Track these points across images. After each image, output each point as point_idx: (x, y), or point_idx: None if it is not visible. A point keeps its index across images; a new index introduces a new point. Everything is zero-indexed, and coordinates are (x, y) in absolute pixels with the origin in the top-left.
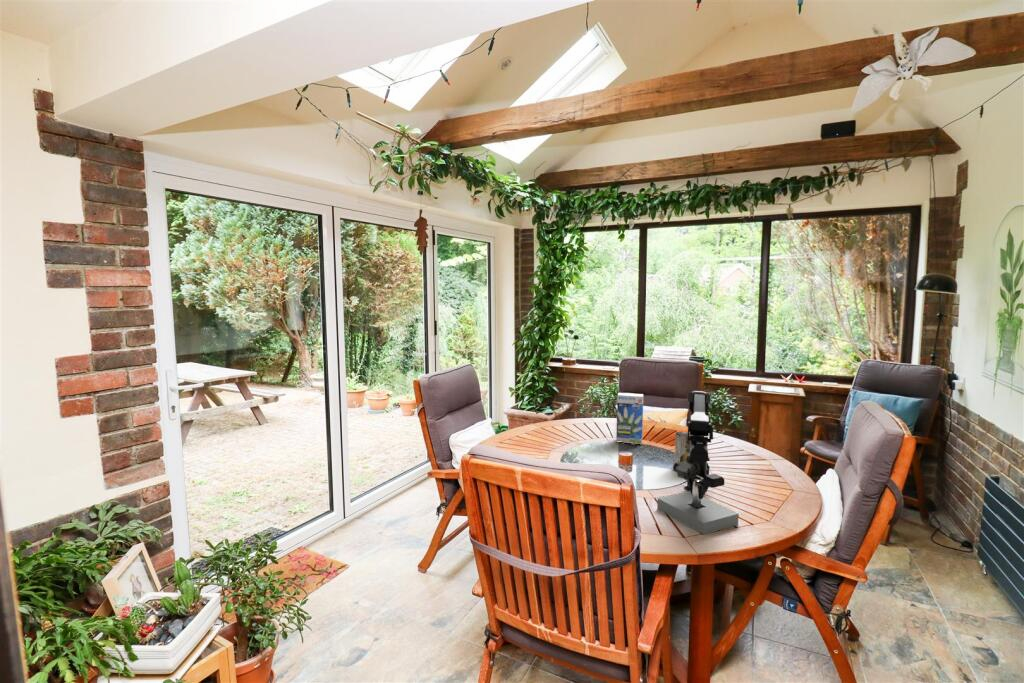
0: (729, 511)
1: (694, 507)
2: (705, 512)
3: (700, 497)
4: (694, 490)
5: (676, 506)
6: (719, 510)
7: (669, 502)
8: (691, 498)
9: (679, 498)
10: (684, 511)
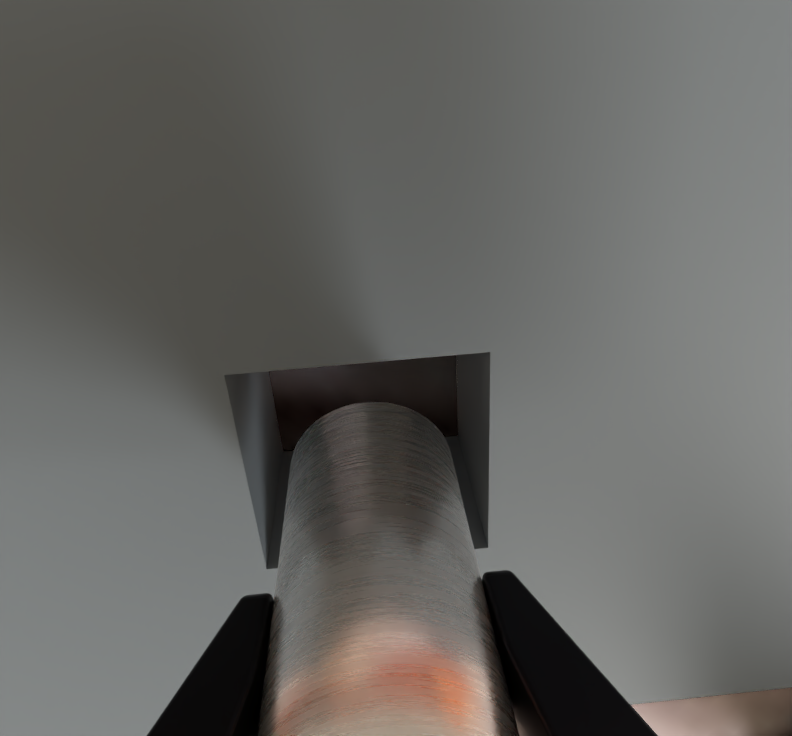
0: (22, 729)
1: (472, 457)
2: (42, 428)
3: (220, 640)
4: (357, 731)
5: (515, 40)
6: (81, 649)
7: (775, 33)
8: (632, 557)
9: (763, 388)
10: (191, 27)
